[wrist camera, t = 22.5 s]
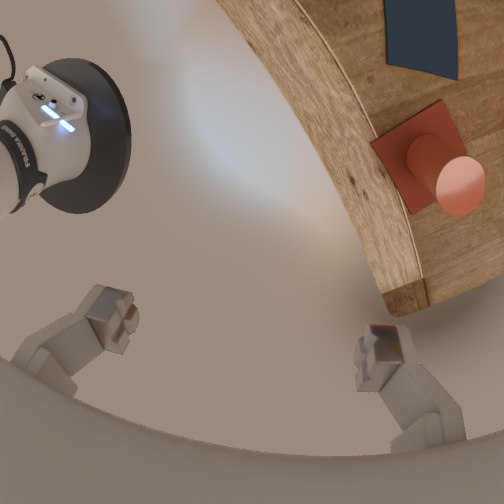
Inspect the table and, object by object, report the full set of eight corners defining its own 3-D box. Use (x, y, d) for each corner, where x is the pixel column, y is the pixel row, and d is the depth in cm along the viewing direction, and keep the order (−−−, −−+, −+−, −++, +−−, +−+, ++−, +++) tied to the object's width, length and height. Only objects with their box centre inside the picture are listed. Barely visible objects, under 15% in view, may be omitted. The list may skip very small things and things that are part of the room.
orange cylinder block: (401, 140, 30) (431, 164, 22) (445, 129, 28) (483, 150, 20) (411, 187, 33) (439, 223, 26) (453, 176, 31) (487, 208, 23)
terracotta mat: (370, 143, 32) (370, 144, 31) (441, 99, 26) (442, 99, 26) (410, 214, 36) (411, 215, 36) (473, 174, 30) (475, 175, 30)
